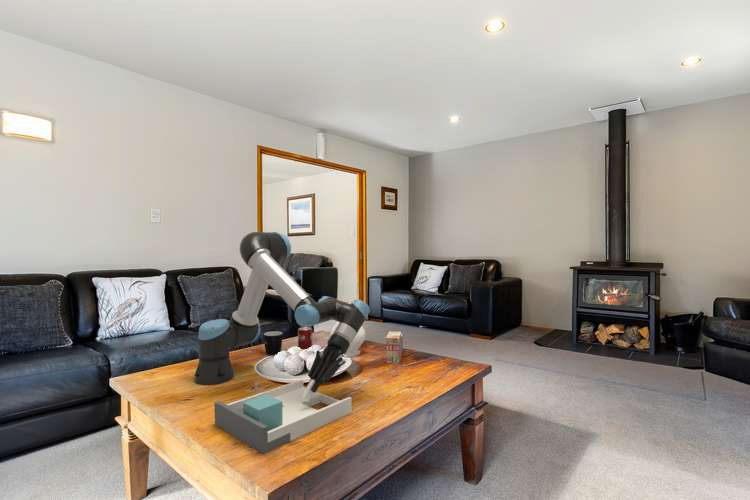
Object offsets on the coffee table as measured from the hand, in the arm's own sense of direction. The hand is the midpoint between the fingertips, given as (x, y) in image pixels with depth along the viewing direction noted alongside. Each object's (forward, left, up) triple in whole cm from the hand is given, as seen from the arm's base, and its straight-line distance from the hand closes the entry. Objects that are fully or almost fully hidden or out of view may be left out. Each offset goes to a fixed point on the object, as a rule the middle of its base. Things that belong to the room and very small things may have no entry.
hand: (304, 399), depth 129 cm
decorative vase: (+8, +73, -6) cm, 73 cm away
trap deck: (-6, -1, -6) cm, 8 cm away
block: (-10, -12, -3) cm, 16 cm away
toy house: (+32, +67, -6) cm, 74 cm away
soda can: (-14, +75, -6) cm, 76 cm away
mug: (-29, +70, -6) cm, 76 cm away
